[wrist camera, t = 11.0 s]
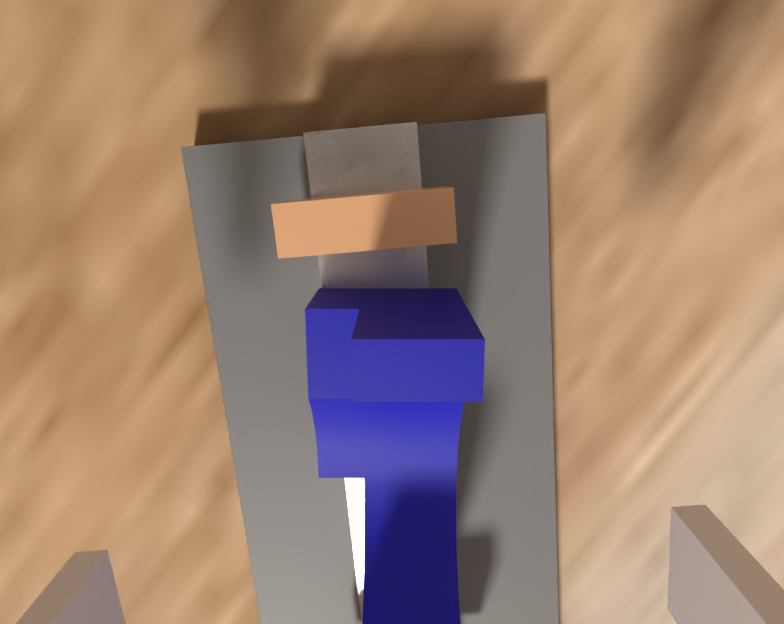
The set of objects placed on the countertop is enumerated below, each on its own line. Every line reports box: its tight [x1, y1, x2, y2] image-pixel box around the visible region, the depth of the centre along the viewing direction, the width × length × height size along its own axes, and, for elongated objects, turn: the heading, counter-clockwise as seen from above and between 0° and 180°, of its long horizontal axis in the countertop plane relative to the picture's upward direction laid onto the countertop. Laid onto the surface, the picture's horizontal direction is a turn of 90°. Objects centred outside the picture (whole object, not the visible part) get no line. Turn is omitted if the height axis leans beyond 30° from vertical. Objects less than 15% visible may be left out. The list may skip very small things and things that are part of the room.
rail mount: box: [181, 113, 559, 624], centre depth 20 cm, size 22×12×5 cm, turn 5°
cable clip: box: [305, 288, 485, 624], centre depth 17 cm, size 12×4×6 cm, turn 0°
